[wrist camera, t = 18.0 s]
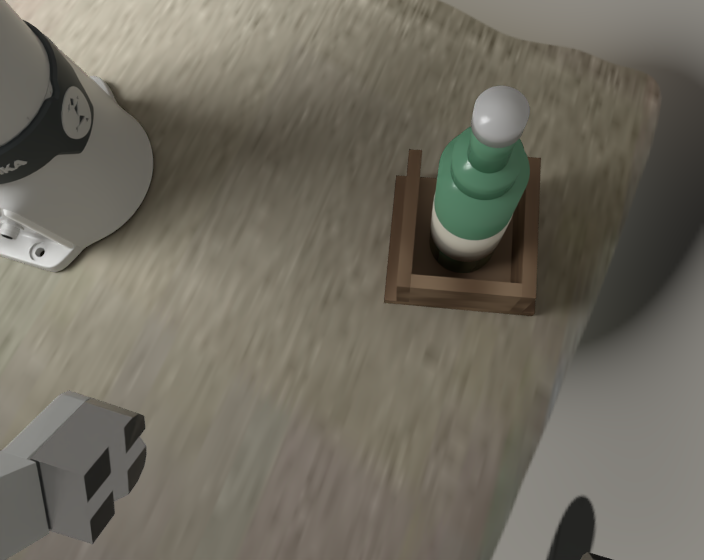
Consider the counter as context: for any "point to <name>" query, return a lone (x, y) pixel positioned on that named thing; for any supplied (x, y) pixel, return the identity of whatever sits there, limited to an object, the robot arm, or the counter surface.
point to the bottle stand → (450, 287)
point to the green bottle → (480, 182)
